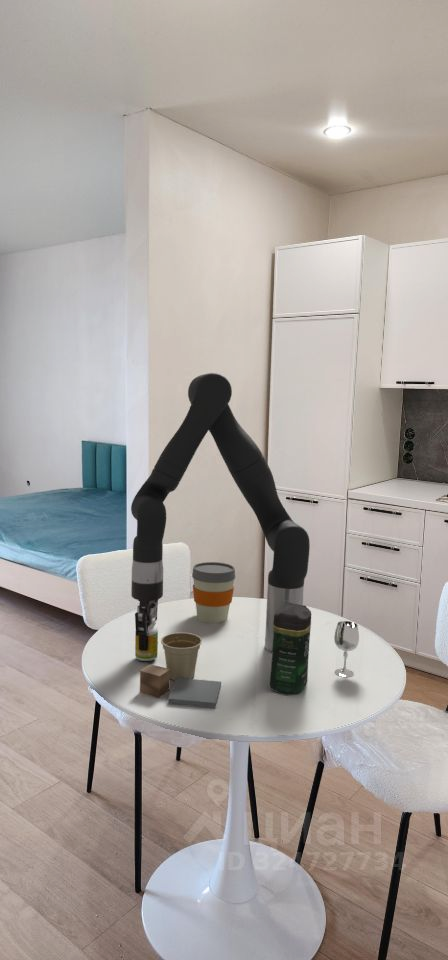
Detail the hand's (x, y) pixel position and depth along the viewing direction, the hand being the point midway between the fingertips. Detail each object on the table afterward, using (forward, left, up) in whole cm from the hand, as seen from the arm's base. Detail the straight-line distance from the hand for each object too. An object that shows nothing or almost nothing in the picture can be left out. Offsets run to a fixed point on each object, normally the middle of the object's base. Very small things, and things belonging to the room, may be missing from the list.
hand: (146, 645), depth 154 cm
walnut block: (-6, +16, -4) cm, 17 cm away
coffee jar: (-35, +8, -4) cm, 36 cm away
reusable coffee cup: (-12, -33, -4) cm, 35 cm away
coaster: (-15, +16, -4) cm, 22 cm away
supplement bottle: (0, 0, -3) cm, 3 cm away
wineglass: (-48, -2, -4) cm, 48 cm away
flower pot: (-10, +7, -4) cm, 13 cm away
